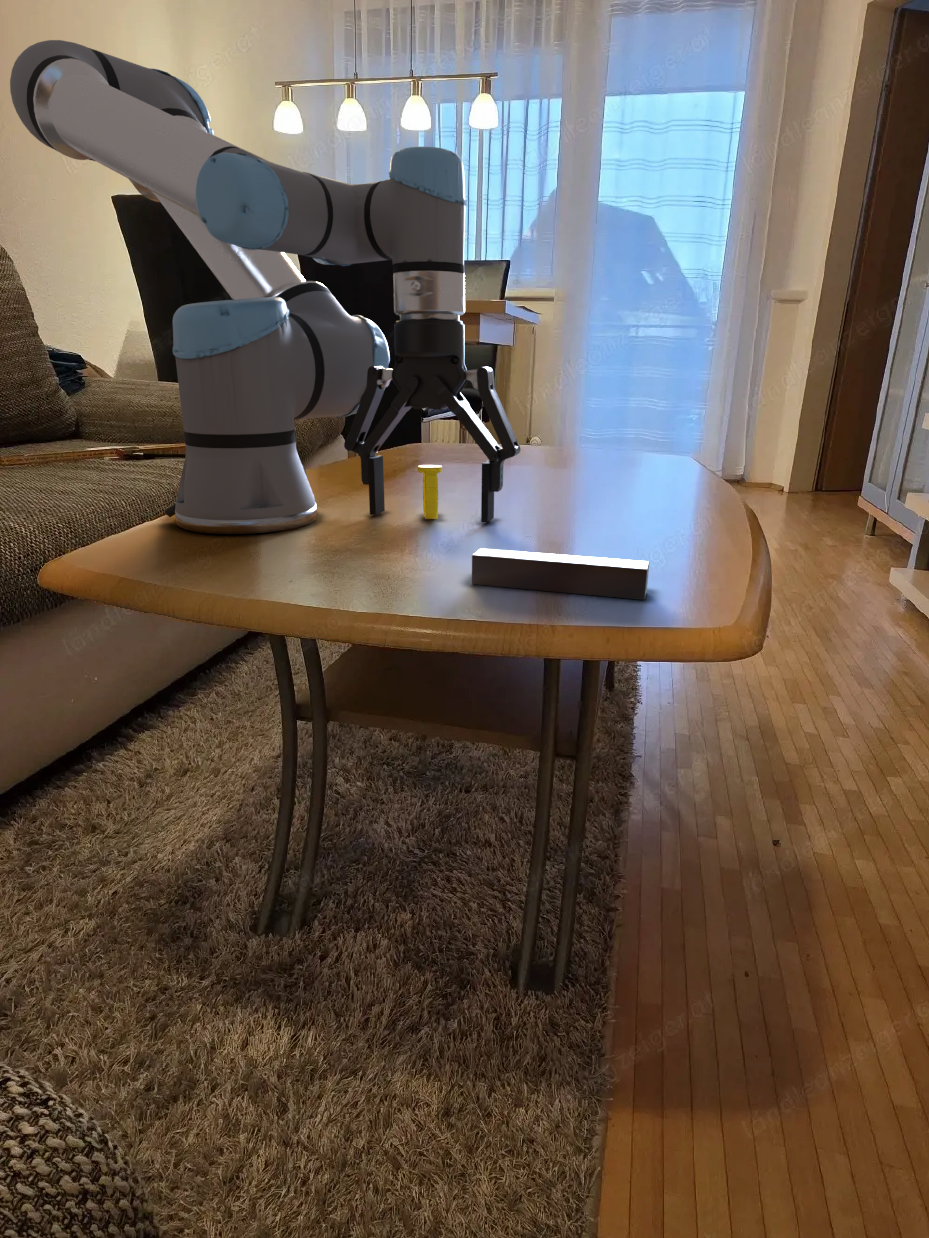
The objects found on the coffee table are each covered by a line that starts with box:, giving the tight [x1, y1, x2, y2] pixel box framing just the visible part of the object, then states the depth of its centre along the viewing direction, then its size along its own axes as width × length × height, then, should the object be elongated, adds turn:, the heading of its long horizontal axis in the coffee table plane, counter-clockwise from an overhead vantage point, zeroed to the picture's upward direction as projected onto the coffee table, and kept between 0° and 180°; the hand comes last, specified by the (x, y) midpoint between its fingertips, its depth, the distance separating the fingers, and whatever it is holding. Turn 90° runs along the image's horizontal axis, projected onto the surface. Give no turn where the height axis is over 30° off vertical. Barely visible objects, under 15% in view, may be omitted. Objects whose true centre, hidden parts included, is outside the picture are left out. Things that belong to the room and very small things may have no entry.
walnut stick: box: [471, 547, 650, 601], centre depth 61 cm, size 14×2×2 cm, turn 73°
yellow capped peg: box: [417, 464, 443, 520], centre depth 87 cm, size 6×3×6 cm, turn 6°
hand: (431, 516), depth 87 cm, fingers open, 13 cm apart
